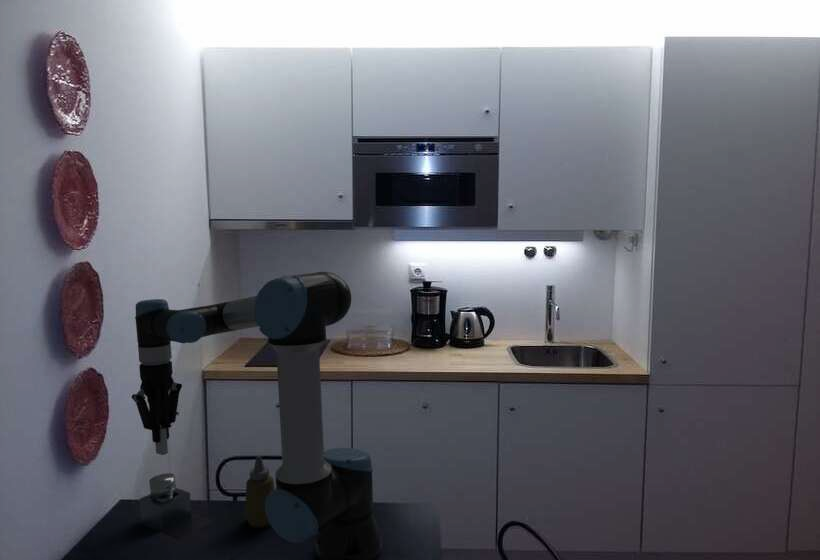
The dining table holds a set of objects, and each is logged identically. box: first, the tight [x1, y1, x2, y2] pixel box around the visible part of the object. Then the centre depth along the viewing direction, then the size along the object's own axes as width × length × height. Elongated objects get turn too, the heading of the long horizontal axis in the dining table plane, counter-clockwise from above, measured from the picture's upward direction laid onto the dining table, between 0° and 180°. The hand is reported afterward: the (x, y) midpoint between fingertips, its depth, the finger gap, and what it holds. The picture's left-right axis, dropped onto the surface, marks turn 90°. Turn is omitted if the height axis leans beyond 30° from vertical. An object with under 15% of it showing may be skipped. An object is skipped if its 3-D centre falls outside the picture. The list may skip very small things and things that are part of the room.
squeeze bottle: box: [244, 455, 276, 529], centre depth 149 cm, size 8×8×18 cm
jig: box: [138, 487, 214, 540], centre depth 151 cm, size 16×10×7 cm, turn 58°
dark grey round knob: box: [148, 472, 177, 502], centre depth 152 cm, size 6×6×10 cm
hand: (162, 453), depth 151 cm, fingers closed
